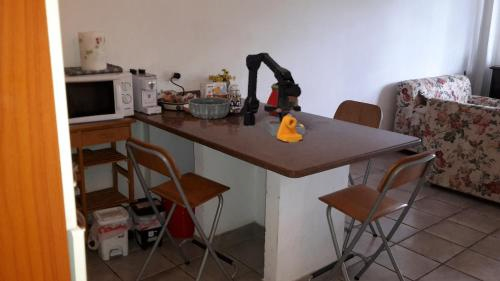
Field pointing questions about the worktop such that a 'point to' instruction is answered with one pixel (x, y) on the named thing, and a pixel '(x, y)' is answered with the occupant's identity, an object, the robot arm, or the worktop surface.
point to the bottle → (273, 99)
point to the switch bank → (275, 125)
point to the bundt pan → (209, 107)
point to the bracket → (288, 130)
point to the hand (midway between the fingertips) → (281, 124)
